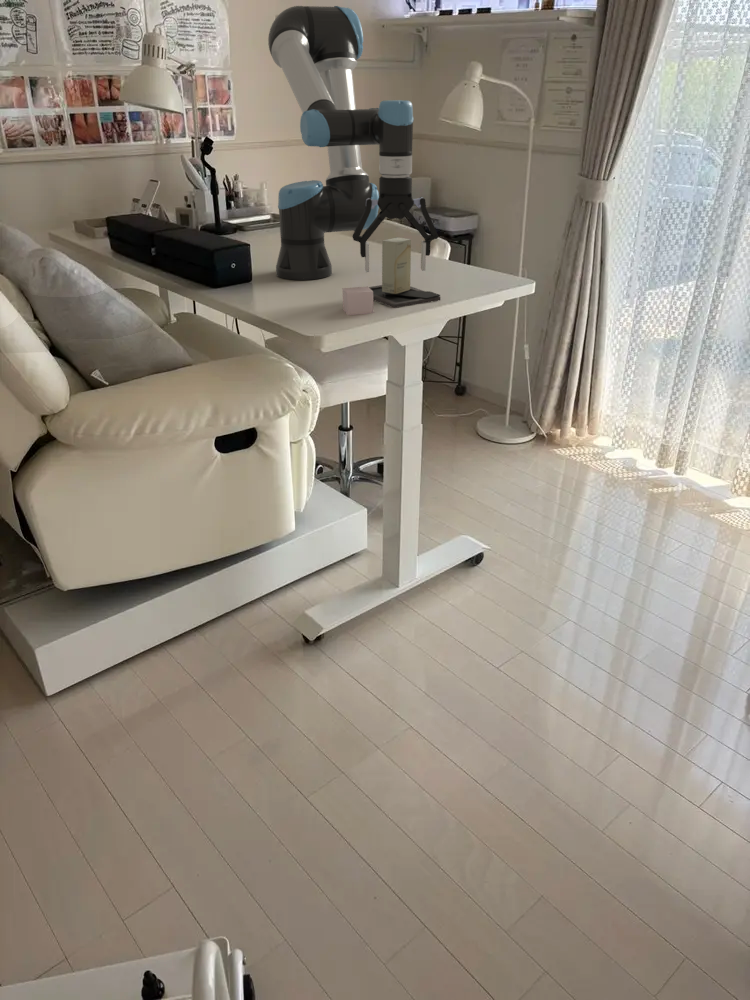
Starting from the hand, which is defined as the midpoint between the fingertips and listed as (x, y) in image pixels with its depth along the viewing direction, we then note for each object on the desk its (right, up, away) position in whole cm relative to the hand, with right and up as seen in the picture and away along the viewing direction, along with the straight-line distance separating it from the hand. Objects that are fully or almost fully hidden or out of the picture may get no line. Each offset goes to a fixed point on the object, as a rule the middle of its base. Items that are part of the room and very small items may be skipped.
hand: (395, 270), depth 190 cm
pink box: (-9, -12, -9) cm, 18 cm away
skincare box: (0, -4, +2) cm, 5 cm away
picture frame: (0, -6, +3) cm, 7 cm away
